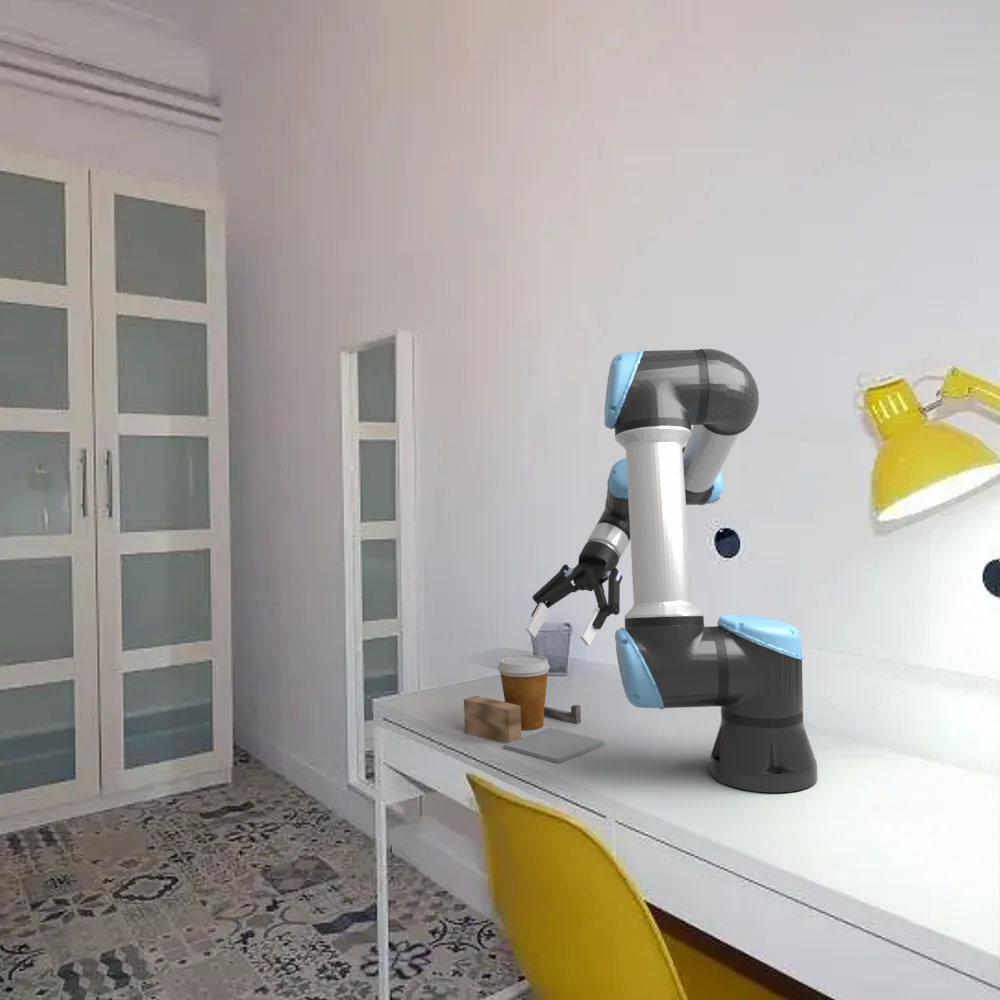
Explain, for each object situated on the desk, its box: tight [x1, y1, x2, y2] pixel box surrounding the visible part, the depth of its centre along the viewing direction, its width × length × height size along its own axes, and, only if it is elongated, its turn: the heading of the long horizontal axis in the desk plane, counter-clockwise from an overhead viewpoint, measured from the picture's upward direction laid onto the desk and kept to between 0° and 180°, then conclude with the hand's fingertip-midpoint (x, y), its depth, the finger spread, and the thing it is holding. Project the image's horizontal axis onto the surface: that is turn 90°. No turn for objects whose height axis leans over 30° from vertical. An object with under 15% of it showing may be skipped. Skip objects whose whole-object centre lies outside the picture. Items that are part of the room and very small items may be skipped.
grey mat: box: [502, 727, 606, 764], centre depth 144 cm, size 12×12×1 cm
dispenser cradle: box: [463, 695, 582, 744], centre depth 156 cm, size 13×18×6 cm
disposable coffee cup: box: [497, 654, 551, 731], centre depth 157 cm, size 10×10×12 cm
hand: (556, 637), depth 164 cm, fingers open, 13 cm apart
